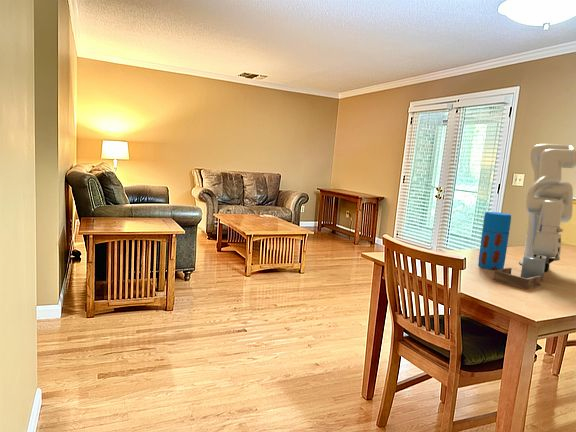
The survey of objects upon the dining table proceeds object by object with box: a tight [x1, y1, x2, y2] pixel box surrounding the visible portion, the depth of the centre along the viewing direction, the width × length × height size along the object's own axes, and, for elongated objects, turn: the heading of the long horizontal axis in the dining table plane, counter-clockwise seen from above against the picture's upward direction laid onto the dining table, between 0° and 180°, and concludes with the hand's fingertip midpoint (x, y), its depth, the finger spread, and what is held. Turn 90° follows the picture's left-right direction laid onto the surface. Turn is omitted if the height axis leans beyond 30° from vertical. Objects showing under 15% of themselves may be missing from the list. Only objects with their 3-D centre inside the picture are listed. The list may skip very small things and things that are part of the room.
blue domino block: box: [477, 211, 512, 271], centre depth 187 cm, size 11×11×25 cm
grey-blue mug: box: [520, 255, 546, 283], centre depth 173 cm, size 14×8×9 cm, turn 125°
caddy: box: [492, 267, 543, 290], centre depth 165 cm, size 12×13×4 cm
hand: (541, 271), depth 177 cm, fingers closed on grey-blue mug
